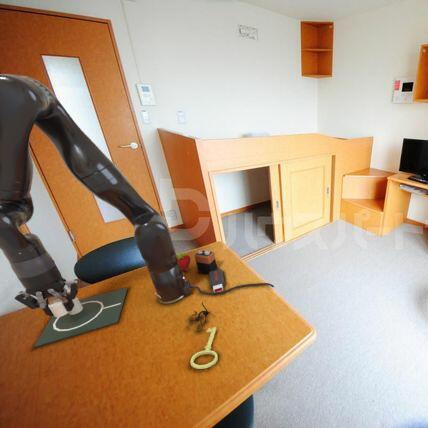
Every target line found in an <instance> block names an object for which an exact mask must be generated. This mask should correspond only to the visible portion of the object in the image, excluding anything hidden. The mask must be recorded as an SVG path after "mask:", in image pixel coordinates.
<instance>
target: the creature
mask: <svg viewBox="0 0 428 428" xmlns="http://www.w3.org/2000/svg"><path fill="white" fill-rule="evenodd" d="M201 305H202V308H204V310H201V311H200V312H199V313H198V312H197V311H193V314H192V315H191V316H190V318H189V321H190V322H188V324H187V325H186V327H185V328H187V330H188V329H189V327H191V326H193V323H194V322H200V324H201V325H198V328H197V332H196V333H199V332H201V331H202V330H203V327H204V324H206V322H207V321H206V320H207V317H208V316H209V314H210V311H208V309H207V308H206V306H205V305H204V303H203V301H202V302H201ZM194 313H195V314H194ZM193 316H197V317H195V318H192V317H193ZM203 316H204V322H202V317H203ZM200 326H201V328H200ZM199 329H200V330H199Z"/></svg>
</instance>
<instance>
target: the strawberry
mask: <svg viewBox="0 0 428 428" xmlns="http://www.w3.org/2000/svg"><path fill="white" fill-rule="evenodd" d="M178 253H179V254H176V256H177V259H178V262H179V266H180V268H181V269H182V272H187V271H188V269H189V268H190V264H191V257H190V255H189V254H187V253H186V252H183V253H181V252H179V251H178Z"/></svg>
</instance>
